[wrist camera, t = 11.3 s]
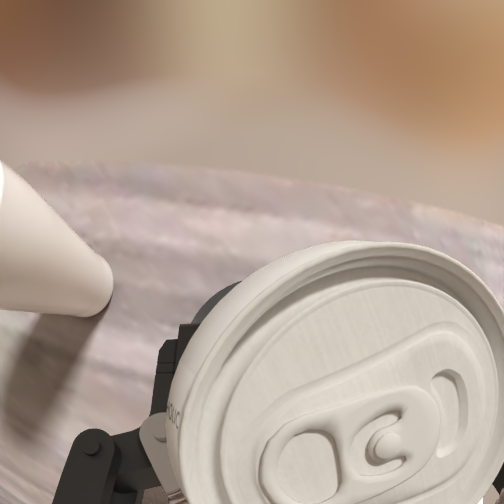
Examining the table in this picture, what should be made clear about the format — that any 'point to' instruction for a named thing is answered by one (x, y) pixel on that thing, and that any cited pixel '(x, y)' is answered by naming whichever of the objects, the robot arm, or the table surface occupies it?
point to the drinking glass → (45, 257)
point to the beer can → (343, 383)
